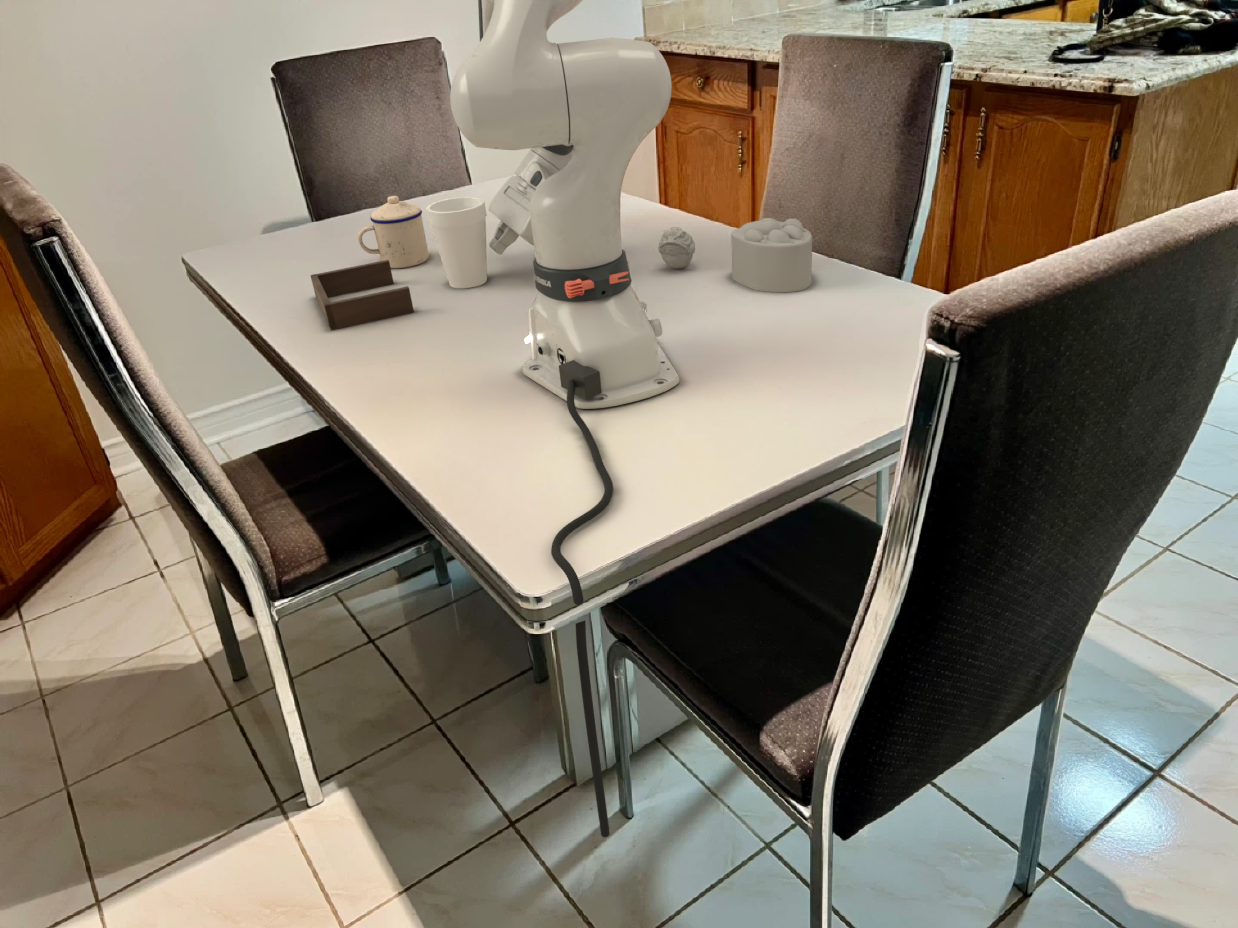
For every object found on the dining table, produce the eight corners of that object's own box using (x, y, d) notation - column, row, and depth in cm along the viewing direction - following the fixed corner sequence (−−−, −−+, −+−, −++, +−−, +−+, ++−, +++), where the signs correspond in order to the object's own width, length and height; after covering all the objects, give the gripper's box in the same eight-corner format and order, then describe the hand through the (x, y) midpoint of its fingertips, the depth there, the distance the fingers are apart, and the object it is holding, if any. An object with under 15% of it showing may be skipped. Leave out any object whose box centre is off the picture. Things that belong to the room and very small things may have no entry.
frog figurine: (654, 274, 153) (651, 232, 150) (666, 260, 159) (663, 219, 155) (690, 276, 151) (688, 233, 148) (701, 261, 157) (699, 220, 154)
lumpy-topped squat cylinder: (775, 261, 154) (775, 209, 150) (828, 281, 144) (830, 225, 140) (723, 276, 150) (721, 223, 145) (774, 298, 140) (774, 241, 135)
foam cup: (435, 279, 161) (420, 203, 154) (487, 268, 163) (475, 193, 157) (448, 295, 153) (433, 216, 146) (502, 284, 156) (490, 205, 149)
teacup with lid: (425, 249, 176) (413, 187, 170) (435, 262, 169) (423, 197, 163) (361, 262, 173) (346, 198, 167) (368, 275, 165) (353, 210, 159)
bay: (414, 312, 148) (409, 287, 146) (330, 330, 144) (324, 305, 142) (392, 282, 161) (388, 259, 159) (316, 297, 157) (310, 275, 155)
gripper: (508, 158, 162) (463, 225, 164) (547, 182, 145) (496, 256, 147) (536, 180, 165) (492, 245, 168) (577, 205, 149) (527, 277, 151)
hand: (494, 250), depth 157 cm, fingers closed, pressing on foam cup
